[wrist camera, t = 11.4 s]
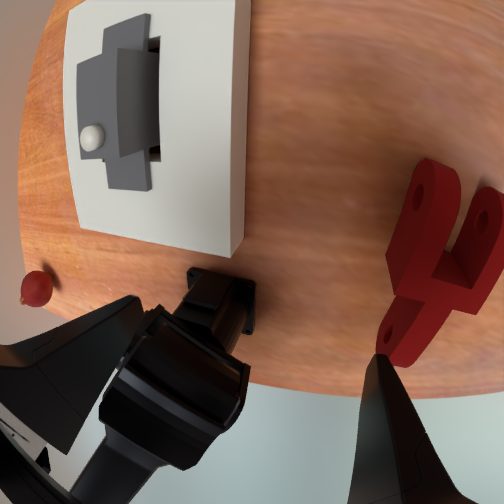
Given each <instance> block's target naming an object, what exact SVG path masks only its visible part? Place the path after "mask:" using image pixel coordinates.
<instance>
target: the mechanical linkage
mask: <svg viewBox="0 0 504 504" xmlns="http://www.w3.org/2000/svg"><path fill="white" fill-rule="evenodd" d="M460 201H461V185H460V180H459V177H458V174H457V173H456V171H455V170H454V169H452V168H450V167H448V166H445V165H443V164H441V163H438V162H436V161H433V160H431V159H428V158H425V159H423V160H422V161H420V163H419V164H418V165H417V167H416V169H415V170H414V173H413V175H412V179H411V182H410V186H409V189H408V192H407V196H406V199H405V202H404V205H403V208H402V211H401V214H400V217H399V220H398V223H397V225H396V228H395V231H394V234H393V236H392V239H391V242H390V244H389V247H388V249H387V252H386V254H385V256H386V260H387V264H388V268H389V273H390V277H391V282H392V287H393V292H394V295H396V297H395V298H394V300H393V302H392V304H391V306H390V308H389V310H388V312H387V313H386V315H385V317H384V319H383V320H382V322H381V325H380V328H379V332H378V336H377V341H376V353H381V354H386V355H387V356H388V358H389V360H390V362H391V363H392V365H393V366H398V367H404V368H407V367H410V366H411V365H412V364H413V363H414V362H415V361H416V360H417V359H418V357H419V356H420V355H421V354H422V352H423V351H424V350H425V348H426V347H427V346H428V344H429V343H430V342H431V340H432V339H433V338H434V336H435V335H436V333H437V332H438V331H439V329H440V328H441V326H442V325H443V323H444V322H445V320H446V319H447V317H448V316H449V314H450V313H451V311H452V310H457V311H461V312H465V313H469V314H473V315H476V314H477V313H478V311H479V310H480V308H481V307H482V305H483V304H484V302H485V300H486V299H487V297H488V296H489V294H490V292H491V291H492V289H493V287H494V285H495V284H496V282H497V280H498V278H499V276H500V275H501V273H502V271H503V269H504V194H503V193H501V192H499V191H497V190H495V189H494V188H491V187H484V188H482V189H480V190H479V191H478V192H477V193H476V194H475V196H474V197H473V199H472V202H471V205H470V207H469V210H468V213H467V215H466V218H465V221H464V223H463V226H462V228H461V231H460V233H459V235H458V238H457V240H456V242H455V245H454V247H453V249H452V251H451V253H450V252H447V251H444V248H445V246H446V243H447V241H448V239H449V236H450V234H451V232H452V229H453V227H454V224H455V222H456V219H457V216H458V212H459V207H460Z"/></svg>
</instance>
